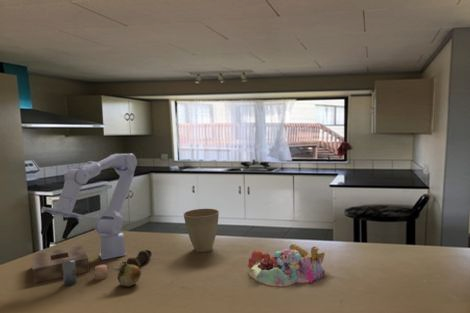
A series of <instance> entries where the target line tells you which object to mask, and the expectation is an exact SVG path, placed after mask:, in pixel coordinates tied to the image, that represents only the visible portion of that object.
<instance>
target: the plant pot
mask: <svg viewBox="0 0 470 313" xmlns="http://www.w3.org/2000/svg"><path fill="white" fill-rule="evenodd" d="M219 212H220V211H219V210H218V209H216V208H196V209H192V210H191V209H190V210H187V211H185V212H184V213H183V218H184V219H183V220H184V223H185V227H186V231H187V233H188V237H189V239H190V242H191V244H192V248H193V249H194V251H195V252H198V253H205V252H210V251H212V250H213V246H214V245H215V240H216V235H217V230H218V226H219V225H218V224H219V214H220V213H219Z"/></svg>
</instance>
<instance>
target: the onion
mask: <svg viewBox="0 0 470 313" xmlns="http://www.w3.org/2000/svg"><path fill="white" fill-rule="evenodd" d="M112 270H113V271H115V272H117V278H116V279H117V280H118V283H119V284H120V285H121V286H122V287H129V288H130V287H131V286H133V285H135V284H137V283H138V282H139V281H140V280H139V279H140V277H141V276H142V272H141V268H139V267H138V266H136V265H129V264H127V262H126V261H122V262H121V263H119V266H118V267H117V266H112Z"/></svg>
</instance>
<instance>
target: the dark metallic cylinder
mask: <svg viewBox="0 0 470 313" xmlns="http://www.w3.org/2000/svg"><path fill="white" fill-rule="evenodd" d="M62 267H63V277H62V278H63V286H64V287H72V286H74V285H76V284H77V283H78V282H77V281H78V280H77V274H76V267H75V259H67V260H64V261H62Z"/></svg>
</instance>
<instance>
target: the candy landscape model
mask: <svg viewBox="0 0 470 313" xmlns="http://www.w3.org/2000/svg"><path fill="white" fill-rule="evenodd" d="M318 251H319V247H317V246H312V247H311V249H310V253H309V252H308V251H307V250H306V249H304V248H302V246H300V245H299V244H297V243H291V244H290V245H289V247H287V248H285V249H283V250H279V251H278V250H277V251H275V252H274V253H273V256H271V254H270V253H268V252H264V253H263V252H262V250H259V249H258V250H257V249H255V250H254V251H252V253H251V256H250V257H249V258H248V263H247V267H248V275H249V276H250V278H252V279H254V280H255V281H256V282H258V283H260V284H264V285H267V286H272V287H280V288H281V287H282V288H284V287H289V286H292V285H293V284H297V283H299V284H309V283H313V282H314V281H315V282H316V280H319V279H321V277H323V276H324V275H323V274H324V270H325V268H324V267H323V266H322V264H323V261H324V257H325V255H326V254H325V253H326V252H318ZM256 263H258V264H256Z"/></svg>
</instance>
